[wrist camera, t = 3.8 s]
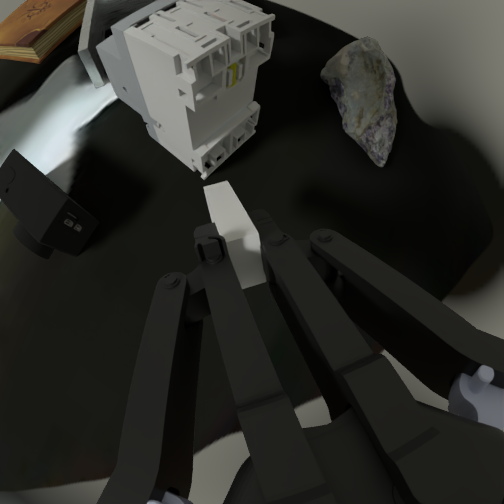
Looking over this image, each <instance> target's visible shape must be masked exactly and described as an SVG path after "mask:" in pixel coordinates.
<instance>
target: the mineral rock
mask: <svg viewBox="0 0 504 504" xmlns="http://www.w3.org/2000/svg"><path fill="white" fill-rule="evenodd" d="M320 76H321V79H322V80H323V81H324V82H325V83H327V84H328V85H329V89H330V92H331V97H332V98H333V99H334V101H335V102H336V103H337V107H338V110H339V112H340V114H341V116H342V118H343V121H342V124H343V129H344V130H345V132H346V133H347V134H348V135H349V136H351V137H352V138H353V139H354V140H355V141H356V142H357V143H358V144H359V145H360V146H361V147H362V148H363V149H364V151H365V152H366V153H367V154H368V155H369V157H370V159H371V160H373V162H374V163H375V164H376V165H377V166H379V167H383V166H384V165H385V163H386V161H387V158H388V155H389V153H390V151H391V149H392V142H393V140H394V136H395V131H396V124H397V117H396V115H397V114H396V107H395V104H394V99H393V98H394V97H393V90H394V86H395V82H396V79H395V75H394V71H393V68H392V66H391V64H390V62H389V61H388V58H387V56H386V55H384V53H383V51H382V50H381V48H380V46H379V44H378V42H377V41H376V40H374V39H372V38H370V37H365V38H361V39H359V40H357V41H354V42H352V43H350V44H348V45H346V46H345V47H343V48H342V49H341V50H340V51H339V52H338V53H337V54H336V55H335V56H334V57H332V58H331V59H330V60H329V61H328V62H327V64H326V66H325V68H323V69H322V71H321V75H320Z"/></svg>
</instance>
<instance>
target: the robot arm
mask: <svg viewBox="0 0 504 504" xmlns="http://www.w3.org/2000/svg"><path fill="white" fill-rule="evenodd" d="M204 192H205V196H206V200H207V204H208V208H209V212H210V216H211V220H212V223H210V224H206V225H203V226H199V227H196V229H195V231H194V237H195V241H196V243H195V247H194V248H195V251H196V255H197V258H198V261H199V265H198V267H197V268H196V269H195V270H194V271H193V272H191V273H190V274H188V275H186V276H185V275H184V274H183V273H180V272H172V273H169V274H167V275H165V276H163V277H162V278H161V279H160V280H159V281H158V283H157V285H156V289H155V292H154V296H153V299H152V303H151V306H150V310H149V313H148V317H147V321H146V325H145V328H144V332H143V336H142V340H141V344H140V348H139V352H138V356H137V360H136V365H135V369H134V373H133V378H132V383H131V387H130V392H129V397H128V402H127V407H126V412H125V417H124V423H123V428H122V434H121V440H120V447H119V453H118V460H117V465H116V467H115V469H114V471H113V473H112V475H111V477H110V479H109V481H108V483H107V485H106V487H105V488H104V490H103V492H102V494H101V496H100V498H99V500H98V502H97V504H193V503H192V502H191V501H189V500H188V497H189V492H190V488H191V483H192V472H193V451H194V432H195V415H196V400H197V387H198V374H199V362H200V350H201V339H202V329H203V318H205V317H206V316H208V315H210V314H211V315H212V319H213V323H214V326H215V330H216V334H217V338H218V342H219V346H220V349H221V353H222V357H223V360H224V364H225V368H226V371H227V375H228V378H229V382H230V385H231V389H232V392H233V395H234V399H235V402H236V406H237V408H236V410H237V414H238V418H239V421H240V424H241V428H242V431H243V434H244V437H245V440H246V443H247V447H248V450H249V453H250V456H249V457H248V458H247V459H246V460H245V462H244V463H243V464H242V465H241V467H240V469H239V471H238V472H237V474H236V476H235V479H234V481H233V483H232V485H231V487H230V490H229V492H228V494H227V496H226V498H225V500H224V503H223V504H504V432H503V427H504V340H503V339H501V338H498V337H496V336H493V335H491V334H488V333H486V332H483V331H481V330H478V329H476V328H475V327H474V326H472V325H471V324H470V323H469V322H467V321H466V320H465V319H463V318H462V317H461V316H459V315H458V314H456V313H455V312H454V311H453V310H451V309H450V308H448V307H447V306H446V305H444V304H443V303H442V302H440V301H439V300H438V299H436V298H435V297H433V296H432V295H431V294H429V293H428V292H426V291H425V290H424V289H422V288H421V287H419V286H418V285H416V284H415V283H414V282H412V281H411V280H409V279H408V278H406V277H405V276H403V275H402V274H401V273H399V272H398V271H396V270H395V269H393V268H392V267H390V266H389V265H387V264H386V263H384V262H383V261H381V260H380V259H378V258H377V257H375V256H374V255H372V254H370V253H369V252H367V251H366V250H364V249H363V248H361V247H360V246H358V245H357V244H355V243H353V242H352V241H350V240H349V239H347V238H345V237H344V236H342V235H341V234H339V233H337V232H336V231H334V230H331V229H319V230H316V231H314V232H312V233H311V235H310V240H293V239H292V237H291V236H290V235H288V234H286V233H282V232H281V231H280V229H279V228H278V226H277V225H276V224H275V222H274V221H273V219H272V218H271V217H270V215H269V214H268V213H267V212H266V211H264V210H262V209H258V210H255V211H251V212H247V213H246V211H245V209H244V208H243V206H242V204H241V203H240V201H239V199H238V198H237V196H236V194H235V193H234V191H233V189H232V188H231V186H230V184H229V183H228V181H224V182H221V183H217V184H213V185H209V186H206V187H204ZM339 271H340V272H339ZM265 275H266V276H267V278H268V282H269V288H270V295H271V300H274V299H275V301H276V303H277V305H278V307H279V309H280V311H281V313H282V315H283V317H284V319H285V321H286V323H287V325H288V327H289V329H290V331H291V333H292V335H293V337H294V339H295V341H296V343H297V345H298V347H299V349H300V351H301V353H302V355H303V357H304V359H305V361H306V363H307V365H308V368H309V370H310V372H311V374H312V376H313V378H314V380H315V382H316V384H317V386H318V388H319V390H320V392H321V394H322V396H323V398H324V400H325V402H326V404H327V406H328V409H329V414H330V418H331V421H332V422H331V423H329V424H327V425H322V426H316V427H309V428H301V425H300V423H299V421H298V418H297V416H296V414H295V411H294V409H293V407H292V404H291V402H290V400H289V398H288V396H287V394H286V393H285V392H284V391H283V389H282V386H281V384H280V382H279V379H278V377H277V374H276V372H275V370H274V367H273V365H272V362H271V360H270V357H269V355H268V352H267V350H266V348H265V345H264V343H263V340H262V338H261V335H260V333H259V330H258V328H257V325H256V323H255V320H254V318H253V315H252V313H251V310H250V308H249V305H248V303H247V300H246V297H245V295H244V292H243V290H242V289H244V288H247V287H251V286H254V285H257V284H260V283H264V282H266V276H265ZM273 296H274V298H273ZM350 319H351V320H352V321H353V322H354V323H356V324H357V325H358V326H359V327H360V328H361V329H362V330H363V331H365V332H366V333H367V334H368V335H369V336H370V337H371V338H373V339H374V340H375V341H376V342H377V343H378V344H379V345H380V346H382V347H383V348H384V349H385V350H386V351H387V352H389V354H391V355H392V356H393V357H394V358H395V359H396V360H397V361H398V362H400V363H401V364H402V365H403V366H404V367H405V368H406V369H407V370H409V371H410V372H411V373H412V374H413V375H414V376H415V377H416V378H417V379H419V380H420V381H421V382H422V383H423V384H424V385H425V386H427V387H428V388H429V389H430V390H432V391H433V392H435V393H436V394H438V395H439V396H441V397H443V398H445V399H447V400H448V401H449V406H448V410H449V412H447V411H444V410H441V409H438V408H436V407H433V406H430V405H427V404H425V403H422V402H419V401H416V400H415V399H414V398H413V396H412V395H411V393H410V392H409V390H408V388H407V387H406V385H405V384H404V382H403V381H402V380H401V378H400V376H399V375H398V374H397V372H396V370H395V369H394V367H393V366H392V364H391V363H390V362H389V360H388V359H387V358H386V357H385V356H384V355H382V354H374V353H373V352H372V351H371V349H370V348H369V346H368V345H367V343H366V342H365V340H364V339H363V337H362V336H361V334H360V333H359V331H358V330H357V328H356V327H355V325H354V324H353V323H352V321H351V320H350Z"/></svg>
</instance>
